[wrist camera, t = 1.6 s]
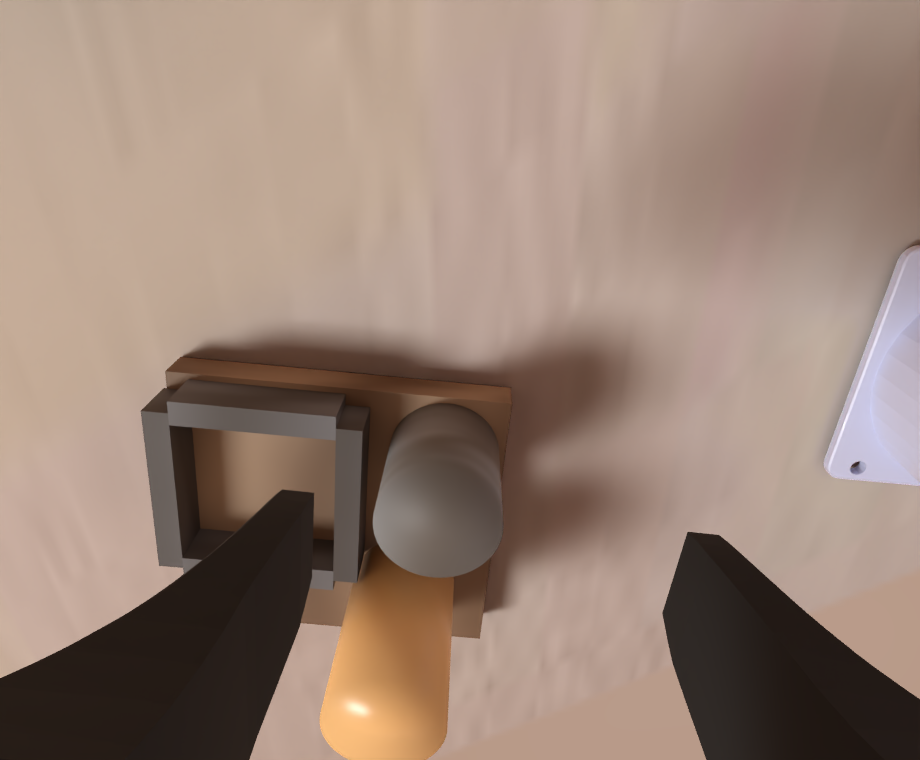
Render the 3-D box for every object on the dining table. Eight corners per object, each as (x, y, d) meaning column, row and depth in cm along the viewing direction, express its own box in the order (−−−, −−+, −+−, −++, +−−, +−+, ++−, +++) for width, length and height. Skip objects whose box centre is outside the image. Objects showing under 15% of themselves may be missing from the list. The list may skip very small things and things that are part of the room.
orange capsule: (458, 544, 24) (452, 685, 18) (449, 621, 25) (441, 773, 20) (356, 535, 24) (320, 673, 18) (353, 613, 25) (319, 763, 20)
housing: (510, 387, 22) (519, 471, 18) (479, 615, 26) (479, 732, 22) (177, 356, 22) (95, 432, 17) (198, 590, 26) (137, 703, 22)
